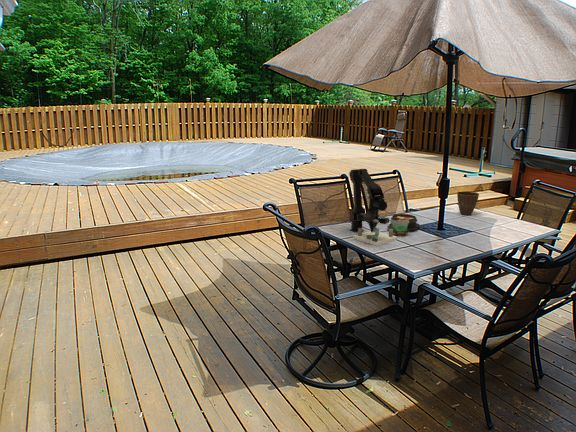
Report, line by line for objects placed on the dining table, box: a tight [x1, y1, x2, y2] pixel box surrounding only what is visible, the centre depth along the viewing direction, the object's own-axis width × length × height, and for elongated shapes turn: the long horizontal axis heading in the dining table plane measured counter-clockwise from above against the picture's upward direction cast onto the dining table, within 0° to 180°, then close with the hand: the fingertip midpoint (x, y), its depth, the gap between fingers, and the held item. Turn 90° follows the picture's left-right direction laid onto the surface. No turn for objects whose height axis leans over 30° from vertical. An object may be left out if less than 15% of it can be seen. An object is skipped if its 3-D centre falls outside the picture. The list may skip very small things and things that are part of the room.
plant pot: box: [456, 191, 480, 217], centre depth 319 cm, size 15×15×16 cm
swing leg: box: [367, 227, 380, 239], centre depth 256 cm, size 9×3×5 cm, turn 117°
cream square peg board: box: [352, 226, 398, 247], centre depth 260 cm, size 18×18×6 cm
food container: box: [390, 218, 409, 237], centre depth 267 cm, size 12×6×10 cm, turn 105°
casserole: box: [387, 213, 421, 232], centre depth 282 cm, size 25×19×8 cm
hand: (372, 232), depth 259 cm, fingers closed
